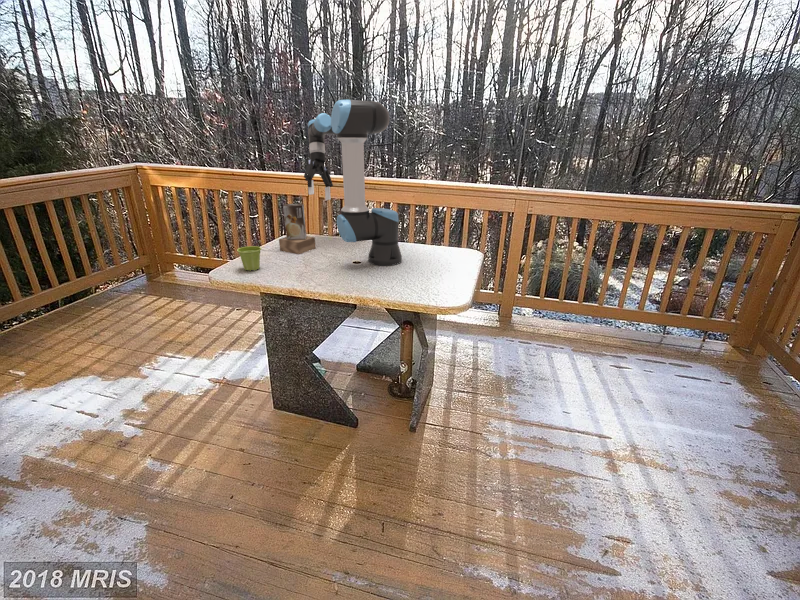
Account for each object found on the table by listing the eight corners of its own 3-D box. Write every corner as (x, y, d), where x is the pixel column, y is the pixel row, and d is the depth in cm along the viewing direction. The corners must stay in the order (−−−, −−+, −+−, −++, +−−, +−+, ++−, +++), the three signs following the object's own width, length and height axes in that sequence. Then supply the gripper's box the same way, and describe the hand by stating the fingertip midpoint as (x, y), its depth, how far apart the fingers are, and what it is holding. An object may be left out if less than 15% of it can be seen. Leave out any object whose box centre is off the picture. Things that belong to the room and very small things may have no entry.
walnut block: (315, 249, 196) (314, 237, 193) (299, 255, 186) (298, 242, 184) (297, 245, 201) (296, 234, 198) (280, 251, 191) (278, 239, 189)
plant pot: (236, 268, 165) (233, 248, 162) (257, 264, 171) (255, 244, 168) (245, 274, 159) (242, 253, 156) (267, 269, 165) (265, 249, 162)
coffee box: (306, 236, 195) (304, 203, 189) (305, 239, 189) (303, 205, 183) (287, 236, 194) (284, 203, 187) (286, 239, 188) (282, 205, 182)
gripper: (326, 162, 205) (328, 203, 206) (294, 147, 183) (297, 193, 183) (338, 159, 202) (340, 200, 202) (307, 143, 179) (310, 190, 180)
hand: (320, 197), depth 193 cm, fingers open, 13 cm apart
